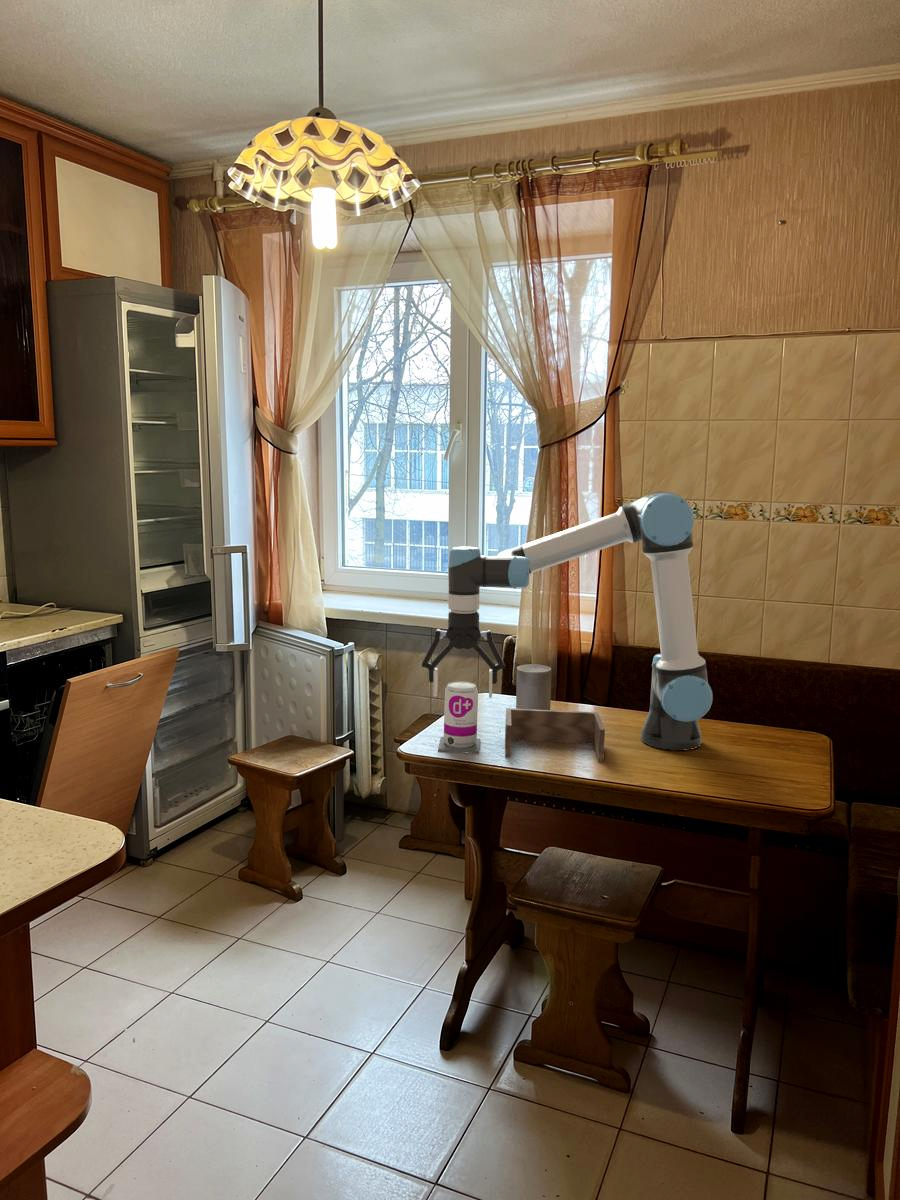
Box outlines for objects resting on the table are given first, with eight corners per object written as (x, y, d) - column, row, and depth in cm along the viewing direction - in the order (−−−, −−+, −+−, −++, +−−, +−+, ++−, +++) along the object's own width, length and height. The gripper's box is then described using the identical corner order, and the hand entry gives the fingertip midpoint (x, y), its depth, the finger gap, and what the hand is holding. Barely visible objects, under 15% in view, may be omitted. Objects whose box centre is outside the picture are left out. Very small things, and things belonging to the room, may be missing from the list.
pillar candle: (546, 710, 257) (548, 659, 255) (552, 720, 247) (554, 667, 245) (513, 710, 256) (514, 659, 254) (517, 720, 247) (519, 667, 244)
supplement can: (474, 750, 218) (476, 690, 216) (440, 747, 219) (442, 687, 217) (478, 739, 226) (480, 682, 224) (446, 737, 227) (447, 679, 225)
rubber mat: (480, 740, 227) (480, 738, 227) (479, 753, 218) (479, 751, 217) (440, 738, 228) (440, 736, 228) (438, 751, 218) (438, 749, 218)
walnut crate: (596, 742, 229) (598, 712, 228) (603, 762, 214) (605, 729, 213) (504, 738, 230) (506, 708, 229) (505, 757, 215) (506, 725, 214)
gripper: (515, 609, 221) (513, 693, 224) (414, 607, 222) (413, 690, 225) (515, 614, 213) (513, 700, 216) (411, 612, 215) (410, 698, 218)
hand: (462, 695), depth 221 cm, fingers open, 13 cm apart
